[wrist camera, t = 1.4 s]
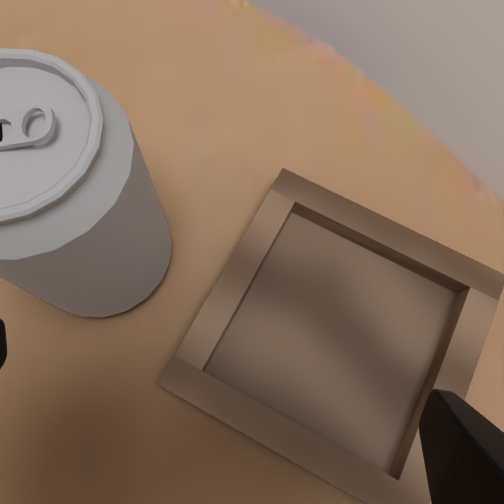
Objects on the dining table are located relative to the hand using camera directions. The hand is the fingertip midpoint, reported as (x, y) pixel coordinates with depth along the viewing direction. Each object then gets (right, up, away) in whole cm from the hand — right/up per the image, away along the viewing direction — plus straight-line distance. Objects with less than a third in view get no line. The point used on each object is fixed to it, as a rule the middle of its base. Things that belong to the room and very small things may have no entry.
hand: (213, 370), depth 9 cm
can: (-7, +2, +15) cm, 17 cm away
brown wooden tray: (+5, -2, +14) cm, 15 cm away
